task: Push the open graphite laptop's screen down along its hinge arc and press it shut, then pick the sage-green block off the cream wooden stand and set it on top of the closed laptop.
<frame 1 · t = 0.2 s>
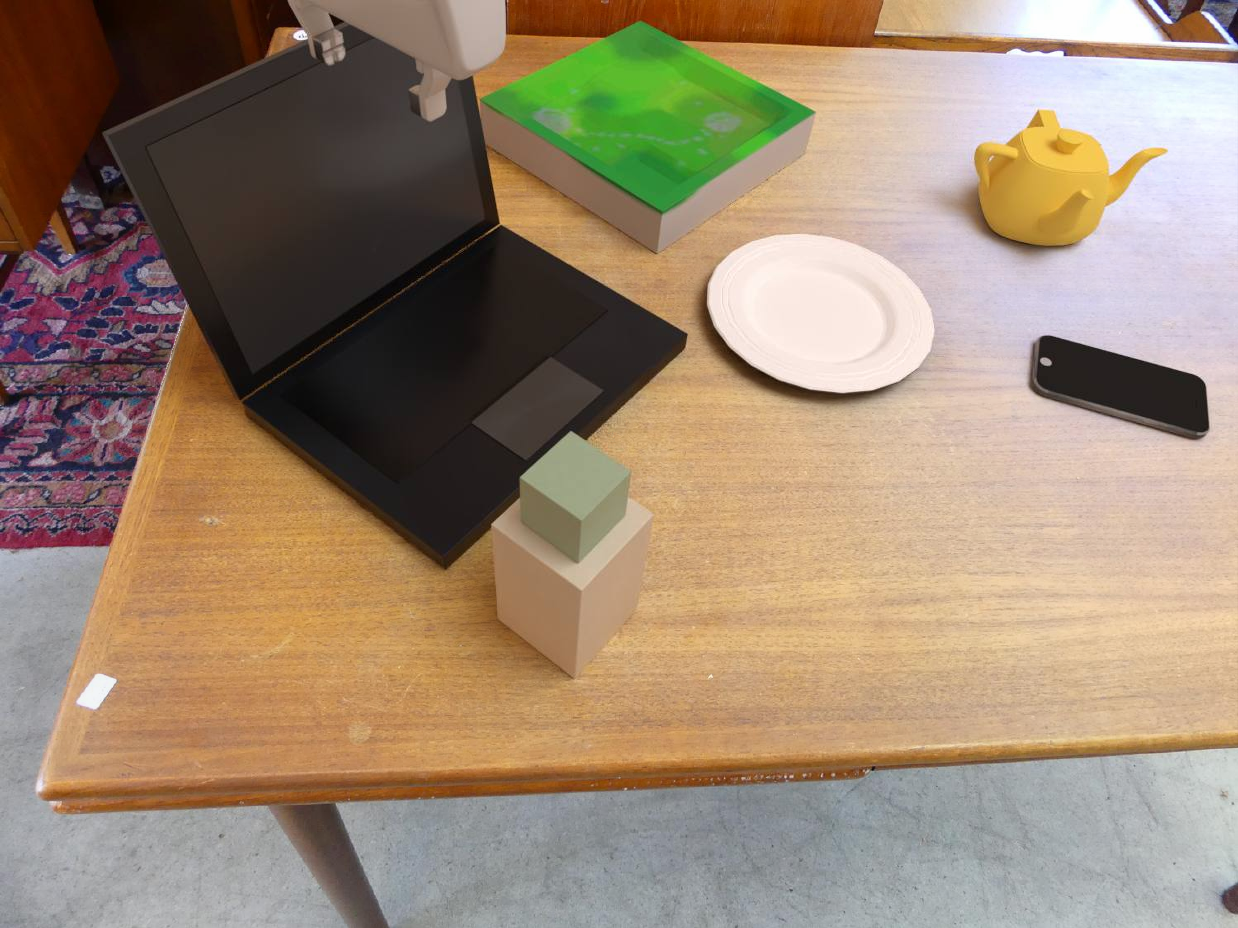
hand: (378, 86, 60), 24 cm above the table, tool pointing down, fingers open, 8 cm apart
laptop: (477, 380, 77), on the table
plate: (815, 322, 85), on the table
stand: (568, 614, 65), on the table
smartphone: (1116, 388, 82), on the table
block: (573, 518, 55), point 12 cm above the table, touching stand
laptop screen: (344, 188, 72), point 13 cm above the table, hinge at 100.0°
teapot: (1035, 224, 96), on the table
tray: (645, 149, 100), on the table
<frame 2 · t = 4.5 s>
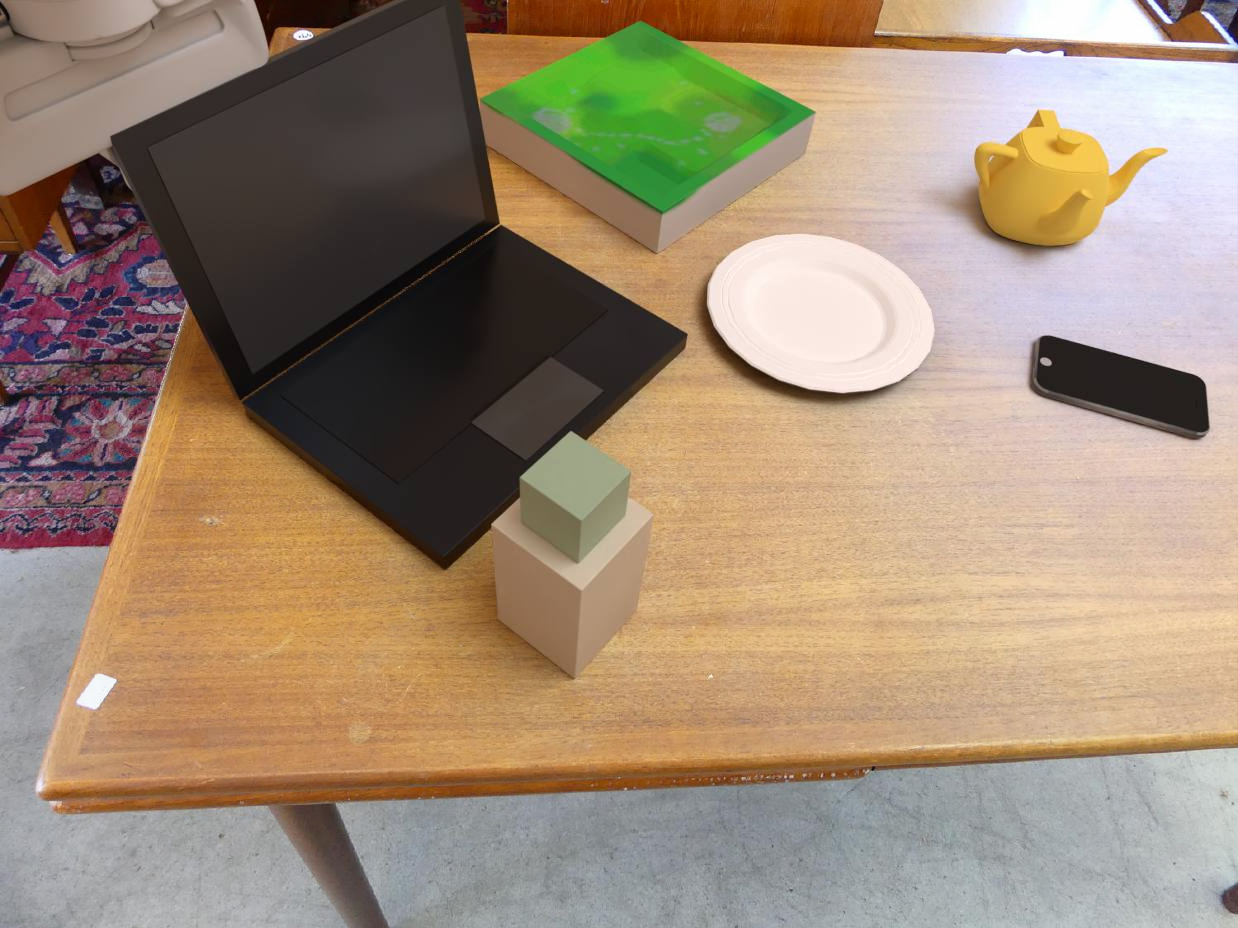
hand: (154, 184, 62), 18 cm above the table, tool pointing down, fingers closed, pressing on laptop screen
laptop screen: (344, 188, 72), point 13 cm above the table, hinge at 99.5°, touching gripper
everything else where it was.
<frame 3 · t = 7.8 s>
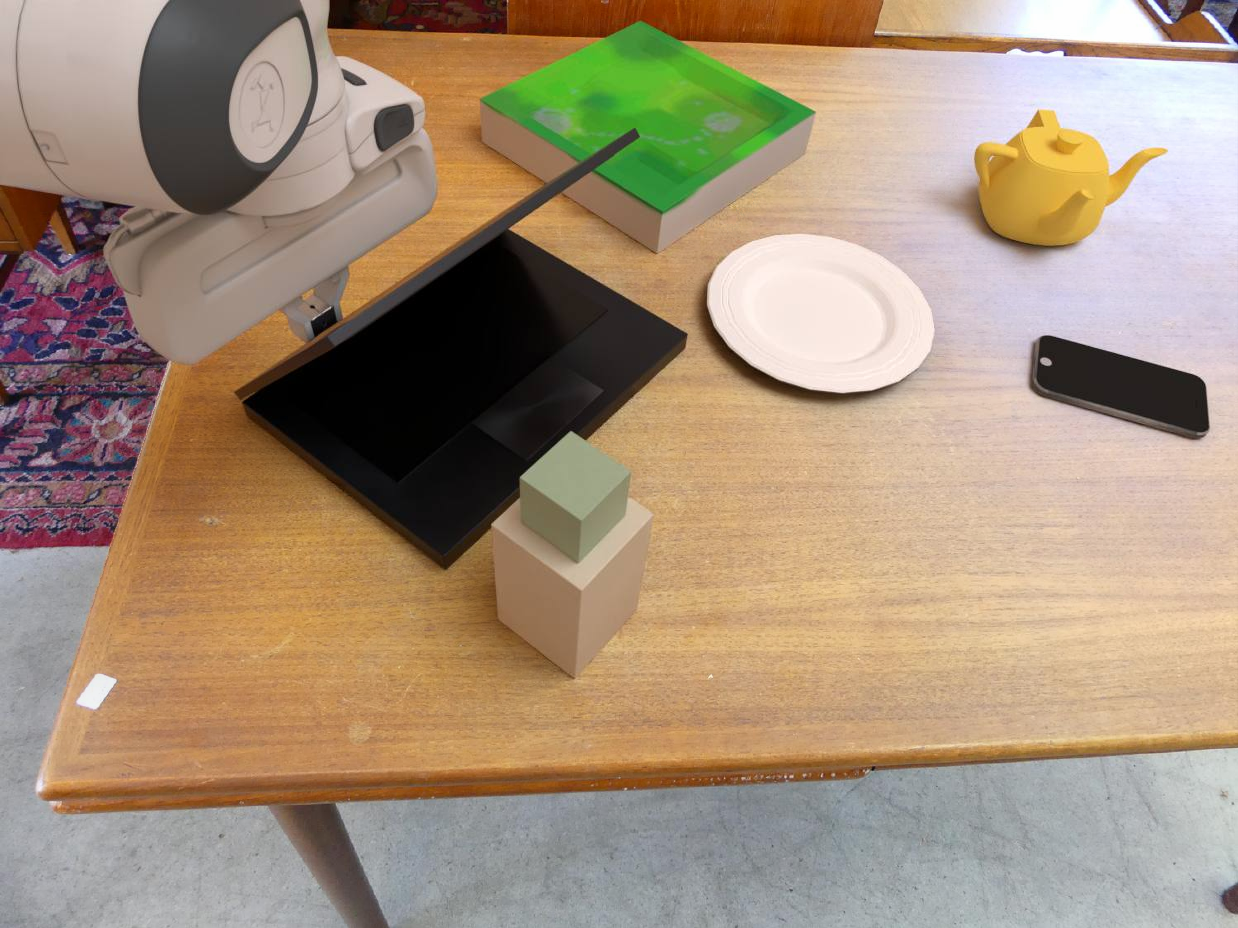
hand: (317, 327, 60), 14 cm above the table, tool pointing down, fingers closed, pressing on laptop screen
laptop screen: (434, 267, 71), point 10 cm above the table, hinge at 46.9°, touching gripper
everything else where it was.
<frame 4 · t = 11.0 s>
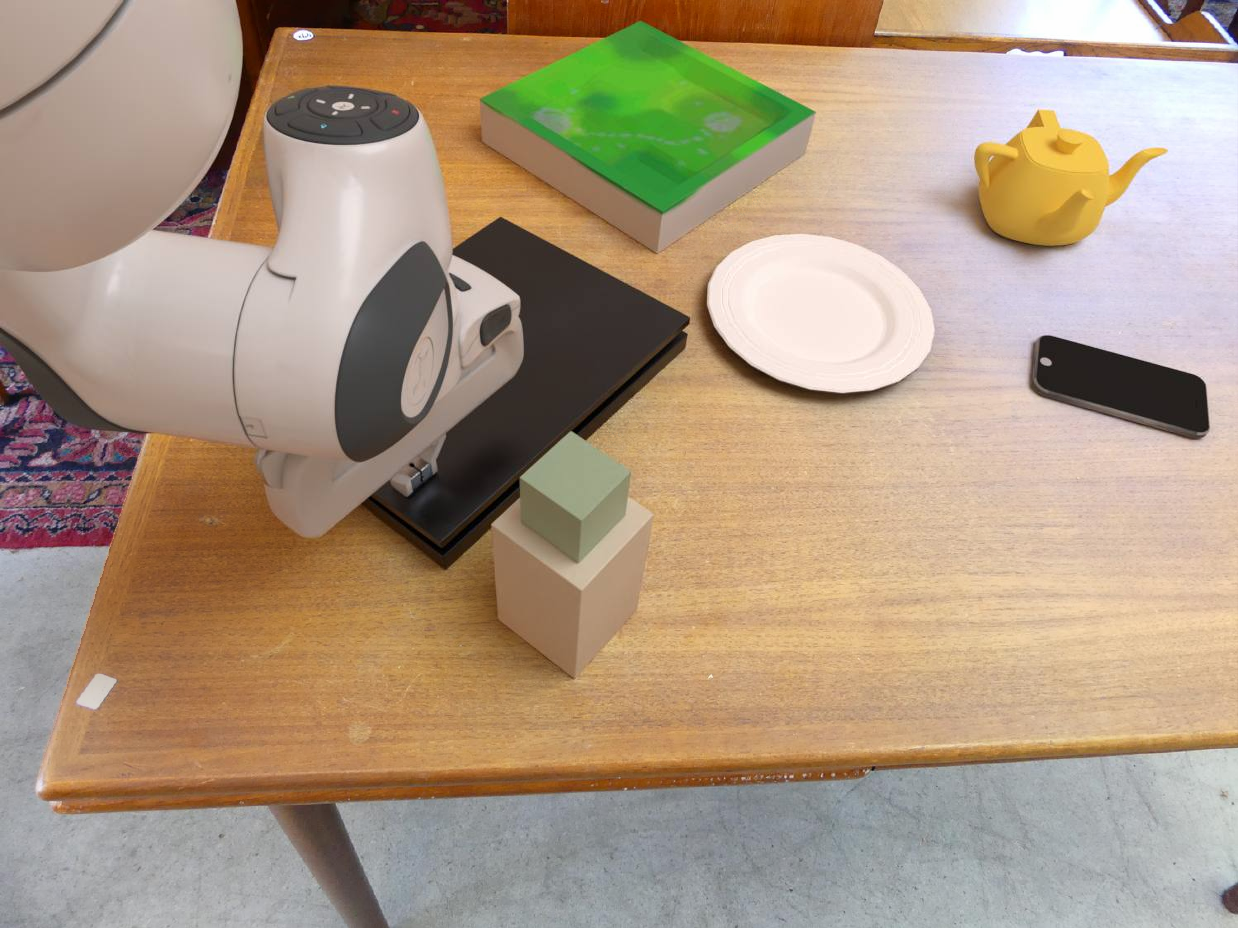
hand: (415, 479, 66), 3 cm above the table, tool pointing down, fingers closed, pressing on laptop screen
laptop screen: (475, 357, 75), point 3 cm above the table, hinge at 2.7°, touching gripper, laptop
everything else where it was.
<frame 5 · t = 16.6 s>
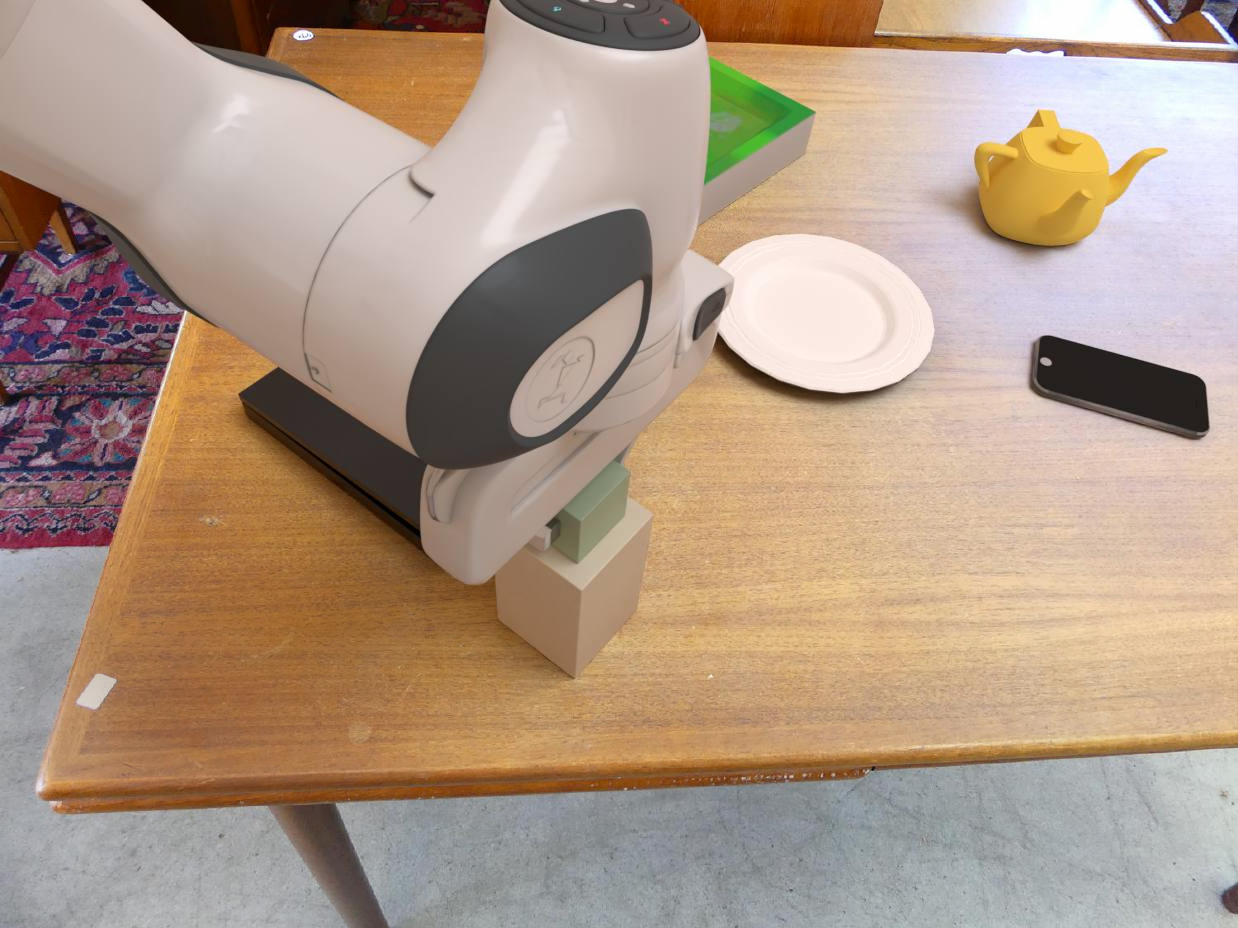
hand: (574, 505, 54), 13 cm above the table, tool pointing down, fingers closed on block, 4 cm apart
block: (572, 519, 55), point 12 cm above the table, touching gripper, stand
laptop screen: (475, 356, 75), point 3 cm above the table, hinge at 3.2°, touching laptop
everything else where it was.
when the fingers open (5 cm above the table, at t = 24.7 s): block stays where it is, resting on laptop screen.
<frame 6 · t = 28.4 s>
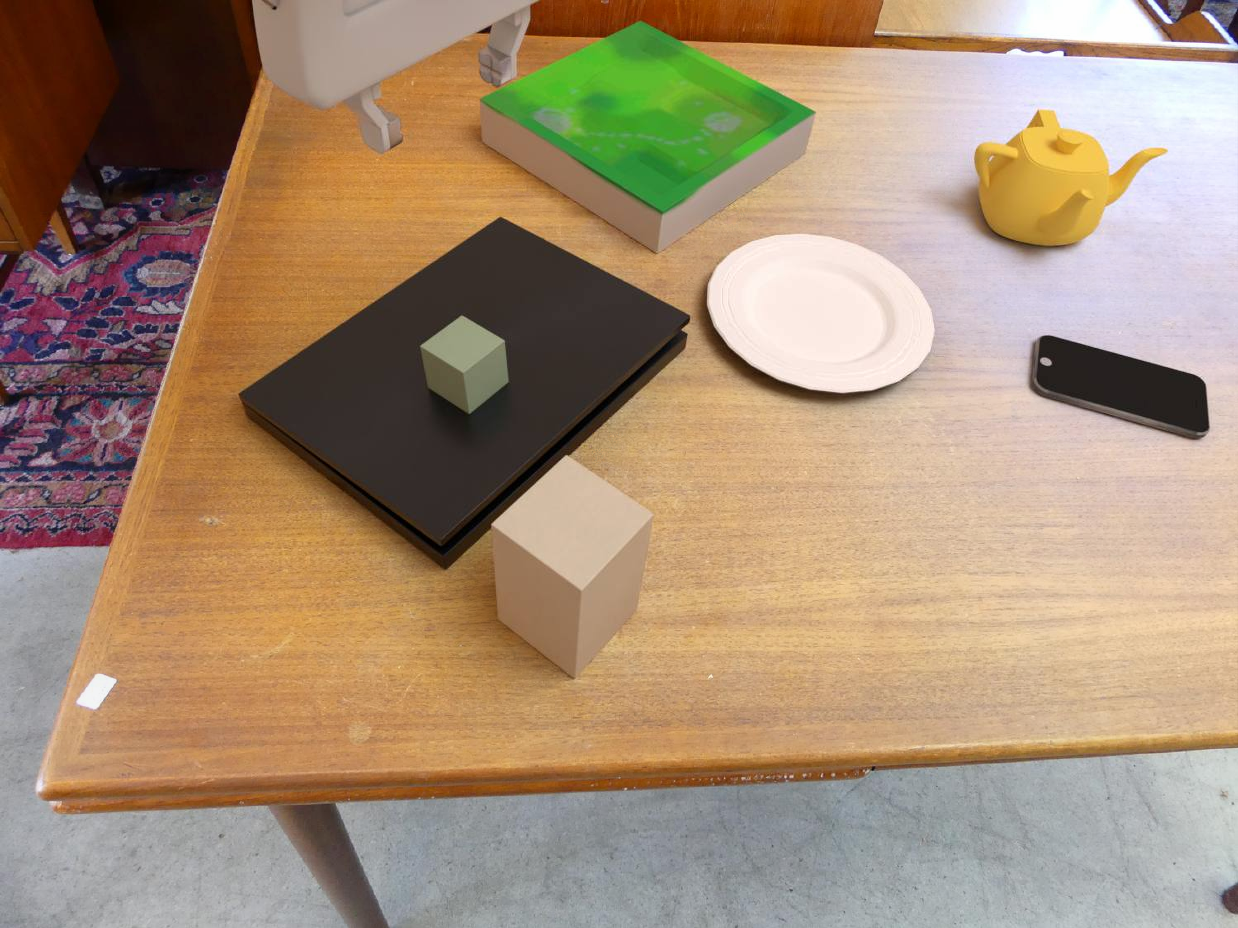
hand: (443, 111, 54), 27 cm above the table, tool pointing down, fingers open, 8 cm apart
block: (468, 385, 72), point 3 cm above the table, touching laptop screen
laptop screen: (475, 356, 75), point 3 cm above the table, hinge at 3.2°, touching block, laptop
everything else where it was.
at the end: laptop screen at +3° (first picture: +100°); block inside the target area on the laptop (3.7 cm from its centre), point 3.4 cm above the laptop's base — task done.
